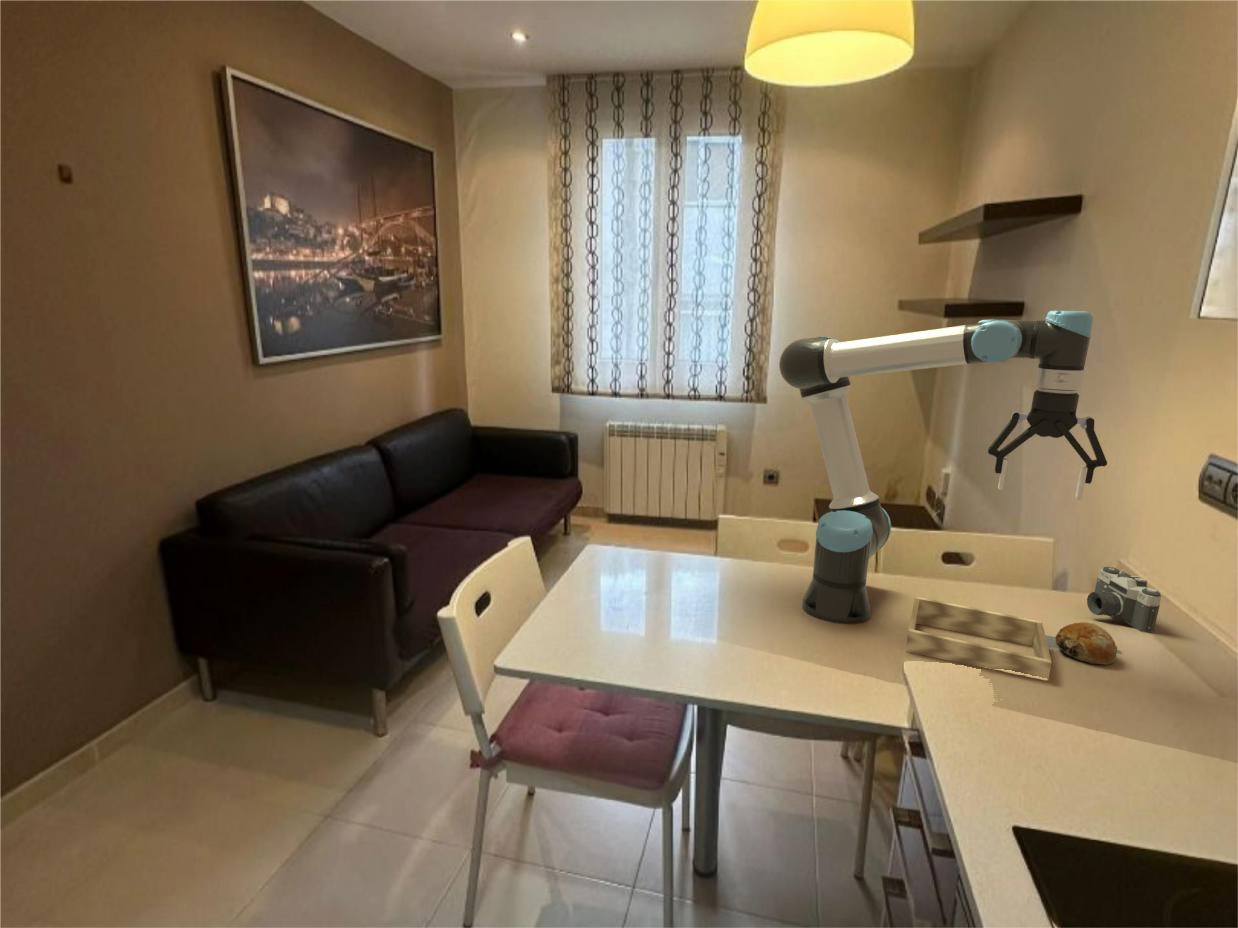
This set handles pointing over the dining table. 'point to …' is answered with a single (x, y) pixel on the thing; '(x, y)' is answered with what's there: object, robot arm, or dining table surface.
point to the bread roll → (1087, 643)
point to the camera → (1125, 599)
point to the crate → (978, 625)
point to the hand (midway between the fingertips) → (1038, 493)
